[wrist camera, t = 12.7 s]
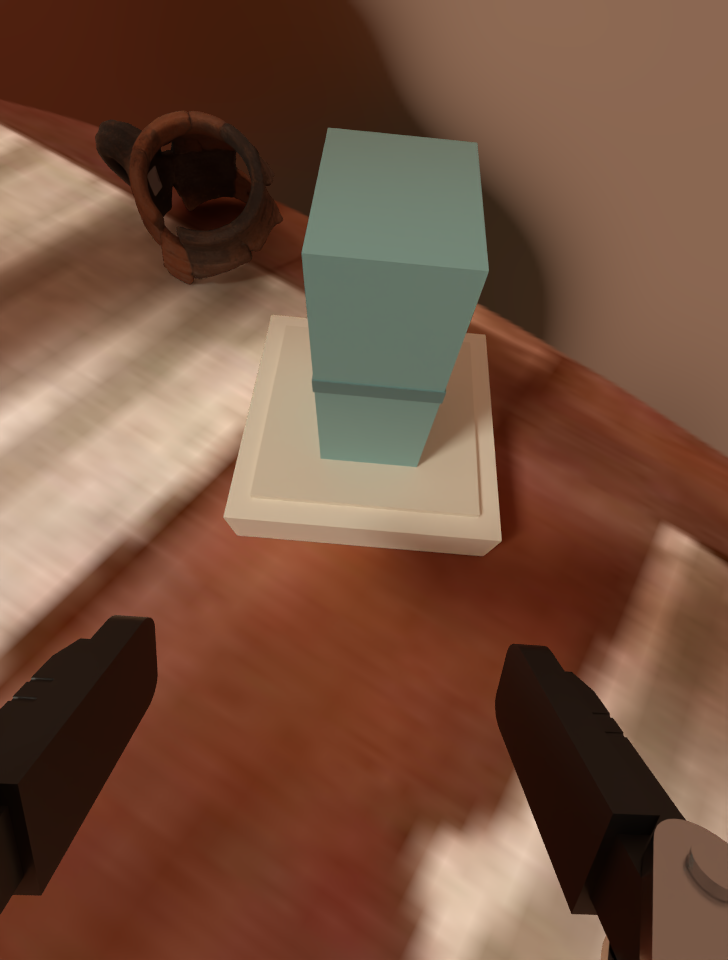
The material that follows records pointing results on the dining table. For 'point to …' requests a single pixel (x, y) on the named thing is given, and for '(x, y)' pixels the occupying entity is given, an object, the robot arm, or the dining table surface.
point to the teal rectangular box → (389, 287)
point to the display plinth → (365, 464)
